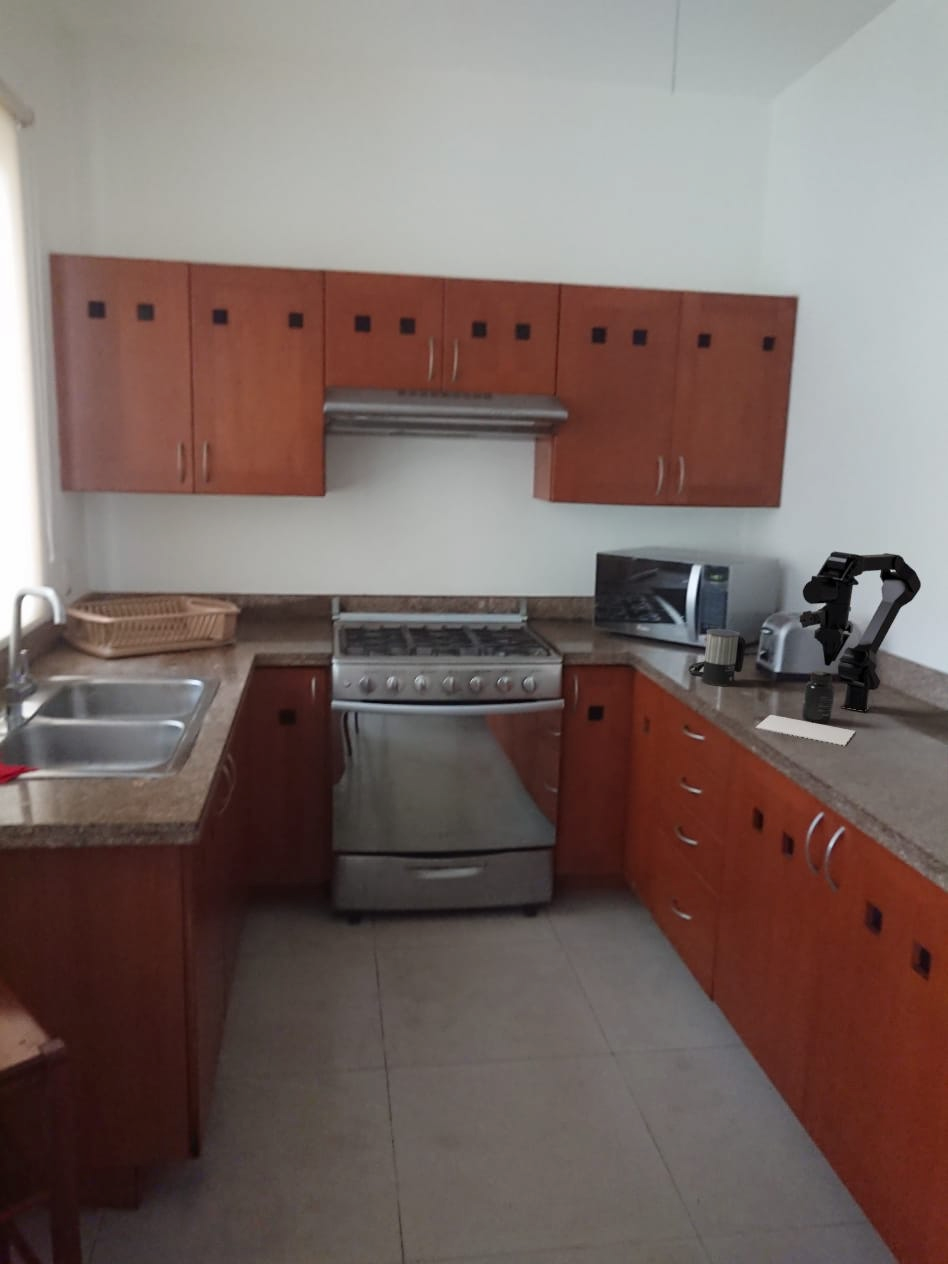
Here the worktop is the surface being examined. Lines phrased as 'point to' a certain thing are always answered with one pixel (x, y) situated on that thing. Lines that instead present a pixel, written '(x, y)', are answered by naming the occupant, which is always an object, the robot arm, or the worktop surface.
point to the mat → (806, 730)
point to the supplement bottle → (818, 698)
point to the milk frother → (721, 657)
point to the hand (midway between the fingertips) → (829, 663)
